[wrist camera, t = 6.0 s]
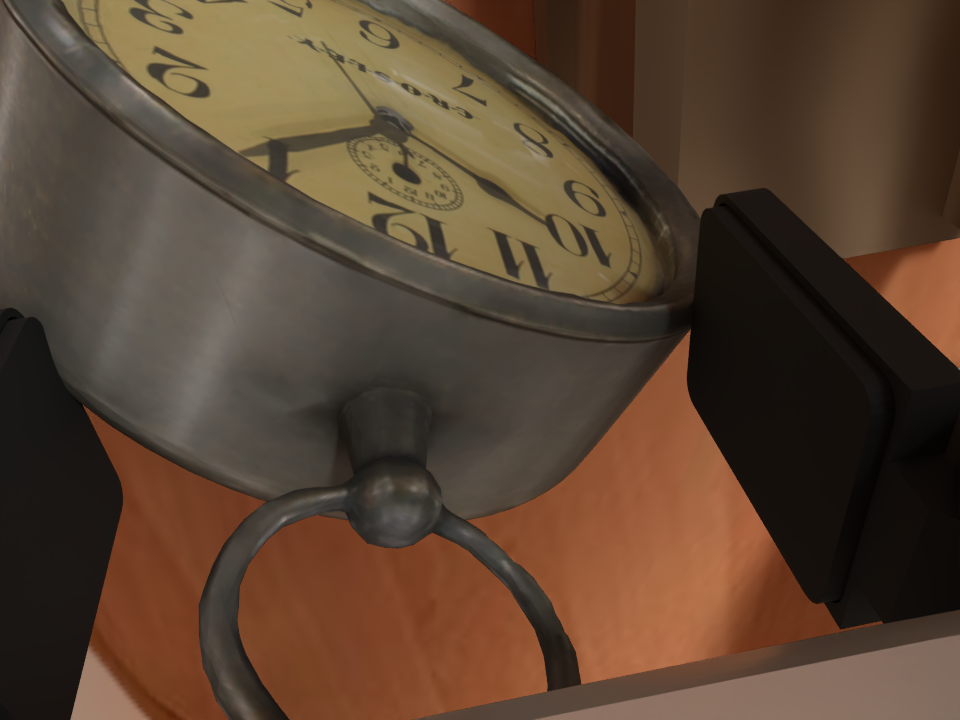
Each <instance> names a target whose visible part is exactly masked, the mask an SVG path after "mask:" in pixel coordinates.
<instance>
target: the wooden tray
mask: <svg viewBox="0 0 960 720" xmlns="http://www.w3.org/2000/svg"><path fill="white" fill-rule="evenodd" d="M533 2H534V23H535V43H536V62H538V63H539V64H541V65H543V66H544V67H546V68H548V69H549V70H550V71H552V72H553V73H555V74H556V75H558V76H559V77H560V78H562V79H563V80H564V81H565V82H567V83H568V84H569V85H570V86H571V87H573V88H574V89H575V90H576V91H578V92H579V93H580V94H581V95H583V96H584V97H585V98H586V99H588V100H589V101H590V102H591V103H592V104H594V105H595V106H596V107H597V108H599V109H600V110H601V111H602V112H603V113H604V114H605V115H606V116H608V117H609V118H610V119H612V120H613V121H614V122H615V123H616V124H617V125H618V126H619V127H620V128H621V129H622V130H623V131H624V132H625V133H626V134H628V135H629V136H630V137H631V138H632V139H633V140H634V141H635V142H636V143H637V144H638V145H640V146H641V147H642V148H643V149H644V150H645V152H646V153H647V154H648V155H649V156H650V157H651V158H652V159H653V160H654V161H655V162H656V163H657V164H658V165H659V167H660V168H661V169H662V170H663V171H664V172H665V173H666V174H667V175H668V177H669V178H670V179H671V180H672V181H673V182H674V183H675V184H676V185H677V186H678V187H679V189H680V190H681V191H682V193H683V194H684V196H685V197H686V198H687V200H688V202H689V203H690V205H691V206H692V207H693V208H694V209H695V211H696V212H697V213H698V215H699V216H700V218H701V215H702V213H703V211H704V210H705V209H706V208H712V207H713V206H714V203H715V200H716V198H717V197H718V196H719V195H721V194H727V193H733V192H740V191H746V190H752V189H759V188H767V189H768V190H770V191H771V192H772V193H773V194H775V195H776V196H777V197H778V198H779V199H780V200H781V201H782V202H783V203H784V204H785V205H786V206H787V207H788V208H789V209H790V210H791V211H792V212H794V213H795V214H796V215H797V216H798V217H799V218H800V219H801V220H802V221H803V222H804V223H805V224H806V225H807V226H808V227H809V228H810V229H811V230H813V231H814V232H815V233H816V234H817V235H818V236H819V237H820V238H821V239H822V240H823V241H824V242H825V243H826V244H827V245H828V246H829V247H831V248H832V249H833V250H834V251H835V252H836V253H837V254H838V255H839V256H840V257H841V258H842V259H844V258H849V257H855V256H861V255H866V254H872V253H878V252H883V251H889V250H894V249H900V248H906V247H911V246H917V245H923V244H928V243H934V242H940V241H945V240H951V239H956V238H960V0H533Z"/></svg>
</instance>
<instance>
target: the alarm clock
mask: <svg viewBox="0 0 960 720" xmlns="http://www.w3.org/2000/svg"><path fill="white" fill-rule="evenodd" d="M700 220H701V218H700V216H699V215H698V213H697V212H696V211H695V209H694V208H693V207H692V206H691V205H690V203H689V202H688V200H687V198H686V197H685V196H684V194H683V193H682V191H681V190H680V189H679V187H678V186H677V185H676V184H675V183H674V182H673V181H672V180H671V179H670V178H669V177H668V175H667V174H666V173H665V172H664V171H663V170H662V169H661V168H660V167H659V165H658V164H657V163H656V162H655V161H654V160H653V159H652V158H651V157H650V156H649V155H648V154H647V153H646V152H645V150H644V149H643V148H642V147H641V146H640V145H638V144H637V143H636V142H635V141H634V140H633V139H632V138H631V137H630V136H629V135H628V134H626V133H625V132H624V131H623V130H622V129H621V128H620V127H619V126H618V125H617V124H616V123H615V122H614V121H613V120H612V119H610V118H609V117H608V116H606V115H605V114H604V113H603V112H602V111H601V110H600V109H599V108H597V107H596V106H595V105H594V104H592V103H591V102H590V101H589V100H588V99H586V98H585V97H584V96H583V95H581V94H580V93H579V92H578V91H576V90H575V89H574V88H573V87H571V86H570V85H569V84H568V83H567V82H565V81H564V80H563V79H562V78H560V77H559V76H558V75H556V74H555V73H553V72H552V71H550V70H549V69H548V68H546V67H544V66H543V65H541V64H539V63H538V62H536V61H535V60H534V59H532V58H531V57H530V56H528V55H527V54H525V53H524V52H522V51H521V50H520V49H518V48H517V47H515V46H514V45H512V44H511V43H509V42H508V41H506V40H505V39H504V38H502V37H500V36H499V35H497V34H495V33H494V32H492V31H491V30H489V29H488V28H487V27H485V26H484V25H483V24H481V23H479V22H478V21H476V20H474V19H472V18H471V17H469V16H467V15H466V14H464V13H462V12H461V11H459V10H458V9H456V8H455V7H453V6H452V5H450V4H448V3H446V2H444V1H442V0H0V309H5V308H11V307H12V308H14V309H17V310H18V311H19V312H20V313H21V314H22V315H23V316H24V318H26V317H35V318H37V319H38V320H39V321H40V322H41V324H42V326H43V328H44V332H45V335H46V339H47V342H48V345H49V349H50V352H51V355H52V358H53V361H54V364H55V366H56V369H57V371H58V374H59V376H60V378H61V379H62V381H63V383H64V385H65V386H66V388H67V390H68V391H69V392H70V393H71V394H72V396H73V397H74V398H75V399H76V400H78V401H79V402H80V403H81V404H83V405H84V406H85V407H86V408H88V409H89V410H90V411H92V412H93V413H94V414H96V415H97V416H98V417H100V418H101V419H102V420H104V421H105V422H106V423H108V424H109V425H110V426H112V427H113V428H115V429H116V430H118V431H120V432H121V433H123V434H124V435H126V436H128V437H129V438H131V439H132V440H134V441H136V442H137V443H139V444H140V445H142V446H144V447H145V448H147V449H149V450H150V451H152V452H154V453H156V454H158V455H160V456H162V457H163V458H165V459H167V460H169V461H171V462H173V463H175V464H176V465H178V466H180V467H182V468H184V469H186V470H188V471H190V472H192V473H194V474H196V475H199V476H201V477H203V478H206V479H208V480H210V481H213V482H215V483H218V484H220V485H222V486H225V487H227V488H229V489H232V490H235V491H237V492H240V493H243V494H246V495H249V496H251V497H254V498H257V499H260V500H264V501H267V502H266V503H264V504H263V505H262V506H260V507H259V508H258V509H257V510H255V511H254V512H253V513H252V514H250V515H249V516H248V517H247V518H245V519H244V521H243V522H242V523H241V524H240V525H239V526H238V528H237V529H236V530H235V531H234V532H233V534H232V535H231V536H230V537H229V539H228V540H227V541H226V542H225V543H224V545H223V547H222V549H221V551H220V553H219V554H218V556H217V558H216V560H215V562H214V564H213V566H212V569H211V571H210V574H209V576H208V579H207V582H206V585H205V587H204V590H203V594H202V597H201V600H200V603H199V638H200V647H201V655H202V663H203V668H204V670H205V673H206V675H207V677H208V679H209V681H210V684H211V687H212V690H213V693H214V696H215V699H216V701H217V703H218V704H219V706H220V707H221V709H222V710H223V711H224V713H225V714H226V716H227V717H228V719H229V720H289V719H288V717H287V716H286V715H285V713H284V712H283V711H282V710H281V708H280V707H279V706H278V704H277V703H276V702H275V700H274V699H273V698H272V696H271V695H270V693H269V692H268V691H267V689H266V688H265V687H264V685H263V684H262V682H261V680H260V679H259V677H258V675H257V673H256V671H255V670H254V668H253V666H252V664H251V662H250V661H249V659H248V657H247V655H246V653H245V650H244V648H243V645H242V642H241V639H240V635H239V628H238V621H237V619H238V609H239V591H240V584H241V582H242V579H243V577H244V574H245V572H246V569H247V567H248V564H249V563H250V562H251V560H252V559H253V557H254V556H255V555H256V553H257V552H258V550H259V549H260V548H261V547H262V546H263V544H264V543H265V542H266V541H267V540H268V539H269V538H270V537H271V536H272V535H274V534H275V533H276V532H277V531H279V530H280V529H281V528H282V527H284V526H287V525H289V524H292V523H295V522H297V521H300V520H302V519H305V518H307V517H310V516H314V515H320V516H325V517H331V518H337V519H343V520H349V522H350V524H351V526H352V528H353V529H354V530H355V531H356V532H357V533H358V534H359V535H360V536H361V537H362V538H363V539H364V540H365V541H366V543H367V544H372V545H376V546H380V547H384V548H402V547H407V546H411V545H414V544H415V543H417V542H418V541H420V540H421V539H423V538H424V537H426V536H427V535H429V534H431V533H435V534H437V535H439V536H441V537H443V538H446V539H448V540H450V541H452V542H454V543H456V544H458V545H459V546H461V547H463V548H464V549H466V550H468V551H469V552H470V553H471V554H472V555H473V556H474V557H476V558H477V559H478V560H479V561H480V562H481V563H482V564H483V565H484V566H486V567H487V568H488V569H489V570H490V571H491V572H492V573H493V574H494V575H495V576H496V577H497V578H498V579H500V580H501V581H502V582H503V583H504V585H505V586H506V587H507V588H508V589H509V590H510V591H511V593H512V594H513V596H514V598H515V599H516V601H517V603H518V604H519V606H520V607H521V609H522V610H523V612H524V614H525V615H526V617H527V618H528V620H529V621H530V623H531V625H532V626H533V628H534V629H535V632H536V634H537V637H538V640H539V643H540V646H541V649H542V652H543V655H544V661H545V668H546V676H547V683H548V689H547V692H548V691H553V690H558V689H563V688H568V687H573V686H578V685H581V680H580V674H579V668H578V662H577V656H576V652H575V650H574V648H573V645H572V643H571V641H570V639H569V637H568V635H567V634H566V633H565V632H564V629H563V627H562V624H561V622H560V620H559V619H558V617H557V616H556V614H555V611H554V608H553V606H552V603H551V601H550V600H549V598H548V597H547V595H546V594H545V593H544V591H543V590H542V589H541V588H540V586H539V585H538V584H537V582H536V581H535V579H534V578H533V577H532V576H531V575H530V574H529V573H528V572H527V571H526V570H525V569H524V568H523V567H522V566H521V565H519V564H517V563H515V562H513V560H512V559H511V558H510V557H509V556H508V555H507V554H506V553H505V552H504V551H503V550H502V549H501V548H500V547H499V546H498V545H497V544H496V543H495V542H493V541H492V540H490V539H489V538H488V537H487V536H486V534H485V533H484V532H482V531H481V530H480V529H479V528H477V527H475V526H474V525H472V524H471V523H469V522H467V521H466V520H470V519H475V518H480V517H485V516H489V515H493V514H496V513H499V512H502V511H506V510H509V509H512V508H514V507H516V506H519V505H521V504H523V503H526V502H528V501H530V500H532V499H534V498H536V497H538V496H539V495H541V494H543V493H545V492H547V491H548V490H550V489H551V488H553V487H554V486H555V485H557V484H558V483H560V482H561V481H562V480H564V479H565V478H566V477H567V476H568V475H569V474H570V473H571V472H572V471H573V470H574V469H575V468H576V467H577V466H578V465H579V464H580V463H581V462H582V461H583V459H584V458H585V457H586V456H587V455H588V454H589V453H590V451H591V450H592V449H593V448H594V447H595V446H596V445H597V443H598V442H599V441H600V440H601V438H602V437H603V436H604V435H605V434H606V432H607V431H608V430H609V429H610V427H611V426H612V425H613V424H614V423H615V421H616V420H617V419H618V418H619V416H620V415H621V414H622V413H623V411H624V410H625V409H626V408H627V407H628V405H629V404H630V403H631V402H632V400H633V399H634V398H635V397H636V396H637V394H638V393H639V392H640V391H641V389H642V388H643V387H644V386H645V384H646V383H647V382H648V381H649V379H650V378H651V377H652V376H653V375H654V373H655V372H656V371H657V370H658V368H659V367H660V366H661V365H662V363H663V362H664V361H665V360H666V358H667V357H668V356H669V355H670V354H671V352H672V351H673V350H674V349H675V347H676V346H677V345H678V344H679V343H680V341H681V340H682V339H683V338H684V336H685V335H686V334H687V333H688V332H689V330H690V329H691V326H692V321H693V317H692V311H693V300H694V288H695V276H696V265H697V253H698V241H699V229H700Z"/></svg>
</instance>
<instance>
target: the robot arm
mask: <svg viewBox="0 0 960 720" xmlns="http://www.w3.org/2000/svg"><path fill="white" fill-rule="evenodd" d="M692 317H693V321H692V326H691V335H690V346H689V358H688V370H687V386H688V391H689V395H690V398H691V401H692V403H693V405H694V407H695V409H696V410H697V412H698V414H699V415H700V417H701V419H702V420H703V422H704V424H705V425H706V427H707V429H708V431H709V432H710V434H711V436H712V437H713V439H714V441H715V442H716V444H717V446H718V447H719V449H720V451H721V453H722V454H723V456H724V458H725V459H726V461H727V463H728V464H729V466H730V468H731V469H732V471H733V473H734V475H735V476H736V478H737V480H738V481H739V483H740V485H741V486H742V488H743V490H744V491H745V493H746V495H747V497H748V498H749V500H750V502H751V503H752V505H753V507H754V508H755V510H756V512H757V513H758V515H759V517H760V519H761V520H762V522H763V524H764V525H765V527H766V529H767V530H768V532H769V534H770V535H771V537H772V539H773V541H774V542H775V544H776V546H777V547H778V549H779V551H780V552H781V554H782V556H783V557H784V559H785V561H786V563H787V564H788V566H789V568H790V569H791V571H792V573H793V574H794V576H795V578H796V579H797V581H798V583H799V585H800V586H801V588H802V590H803V591H804V593H805V594H806V596H807V597H808V599H810V600H811V601H812V602H813V603H816V604H819V603H825V605H826V607H827V608H828V610H829V612H830V613H831V615H832V617H833V618H834V620H835V622H836V623H837V625H838V626H839V628H840V629H845V628H849V627H854V626H859V625H864V624H869V623H874V622H879V621H882V622H883V624H881V625H875V626H870V627H864V628H859V629H854V630H849V631H844V632H839V633H834V634H829V635H824V636H820V637H815V638H810V639H805V640H800V641H795V642H790V643H785V644H780V645H775V646H770V647H765V648H760V649H755V650H750V651H745V652H740V653H735V654H730V655H725V656H721V657H716V658H711V659H706V660H701V661H696V662H691V663H686V664H681V665H676V666H671V667H666V668H661V669H656V670H651V671H646V672H641V673H636V674H631V675H626V676H622V677H617V678H612V679H607V680H602V681H597V682H592V683H587V684H582V685H578V686H573V687H568V688H563V689H558V690H553V691H548V692H544V693H539V694H534V695H529V696H524V697H519V698H515V699H510V700H505V701H500V702H495V703H490V704H486V705H481V706H476V707H471V708H466V709H461V710H457V711H452V712H447V713H442V714H437V715H432V716H428V717H423V718H418V719H413V720H960V370H959V369H958V368H957V367H956V366H955V365H954V364H953V363H952V362H951V361H950V360H949V359H948V358H947V357H946V356H945V355H944V354H943V353H941V352H940V351H939V350H938V349H937V348H936V347H935V346H934V345H933V344H932V343H931V342H930V341H929V340H928V339H927V338H926V337H925V336H923V335H922V334H921V333H920V332H919V331H918V330H917V329H916V328H915V327H914V326H913V325H912V324H911V323H910V322H909V321H908V320H907V319H906V318H904V317H903V316H902V315H901V314H900V313H899V312H898V311H897V310H896V309H895V308H894V307H893V306H892V305H891V304H890V303H889V302H888V301H887V300H885V299H884V298H883V297H882V296H881V295H880V294H879V293H878V292H877V291H876V290H875V289H874V288H873V287H872V286H871V285H870V284H869V283H867V282H866V281H865V280H864V279H863V278H862V277H861V276H860V275H859V274H858V273H857V272H856V271H855V270H854V269H853V268H852V267H851V266H850V265H848V264H847V263H846V262H845V261H844V260H843V259H842V258H841V257H840V256H839V255H838V254H837V253H836V252H835V251H834V250H833V249H832V248H831V247H829V246H828V245H827V244H826V243H825V242H824V241H823V240H822V239H821V238H820V237H819V236H818V235H817V234H816V233H815V232H814V231H813V230H811V229H810V228H809V227H808V226H807V225H806V224H805V223H804V222H803V221H802V220H801V219H800V218H799V217H798V216H797V215H796V214H795V213H794V212H792V211H791V210H790V209H789V208H788V207H787V206H786V205H785V204H784V203H783V202H782V201H781V200H780V199H779V198H778V197H777V196H776V195H775V194H773V193H772V192H771V191H770V190H768V189H767V188H759V189H752V190H746V191H740V192H733V193H727V194H721V195H719V196H718V197H717V198H716V200H715V203H714V206H713V207H712V208H706V209H705V210H704V211H703V213H702V215H701V220H700V229H699V241H698V253H697V265H696V276H695V288H694V300H693V311H692ZM122 505H123V493H122V487H121V483H120V480H119V477H118V475H117V473H116V471H115V469H114V467H113V465H112V463H111V461H110V459H109V457H108V455H107V453H106V451H105V449H104V447H103V445H102V443H101V441H100V439H99V437H98V435H97V433H96V431H95V429H94V427H93V425H92V423H91V421H90V419H89V417H88V415H87V413H86V411H85V409H84V407H83V405H82V404H81V403H80V402H79V401H78V400H76V399H75V398H74V397H73V396H72V394H71V393H70V392H69V391H68V390H67V388H66V386H65V385H64V383H63V381H62V379H61V378H60V376H59V374H58V371H57V369H56V366H55V364H54V361H53V358H52V355H51V352H50V349H49V345H48V342H47V339H46V335H45V332H44V328H43V326H42V324H41V322H40V321H39V320H38V319H37V318H35V317H26V318H24V316H23V315H22V314H21V313H20V312H19V311H18V310H17V309H14V308H12V307H11V308H5V309H0V720H70V719H71V715H72V711H73V707H74V703H75V698H76V694H77V690H78V686H79V682H80V678H81V674H82V670H83V666H84V662H85V658H86V654H87V650H88V645H89V641H90V637H91V633H92V629H93V625H94V621H95V617H96V613H97V609H98V605H99V600H100V596H101V592H102V588H103V584H104V580H105V576H106V572H107V568H108V564H109V560H110V556H111V551H112V547H113V543H114V539H115V535H116V531H117V527H118V523H119V519H120V515H121V511H122Z"/></svg>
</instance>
